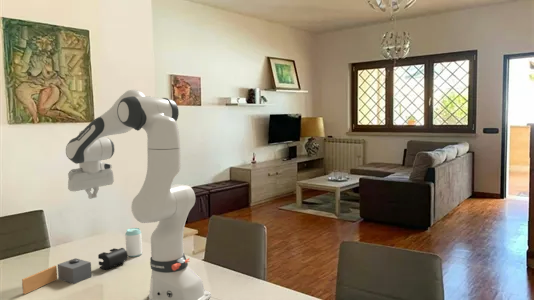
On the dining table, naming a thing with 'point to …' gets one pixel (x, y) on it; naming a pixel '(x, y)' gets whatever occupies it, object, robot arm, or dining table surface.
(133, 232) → the can
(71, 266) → the block
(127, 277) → the dining table surface
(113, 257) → the black ridged cylinder
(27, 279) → the door
